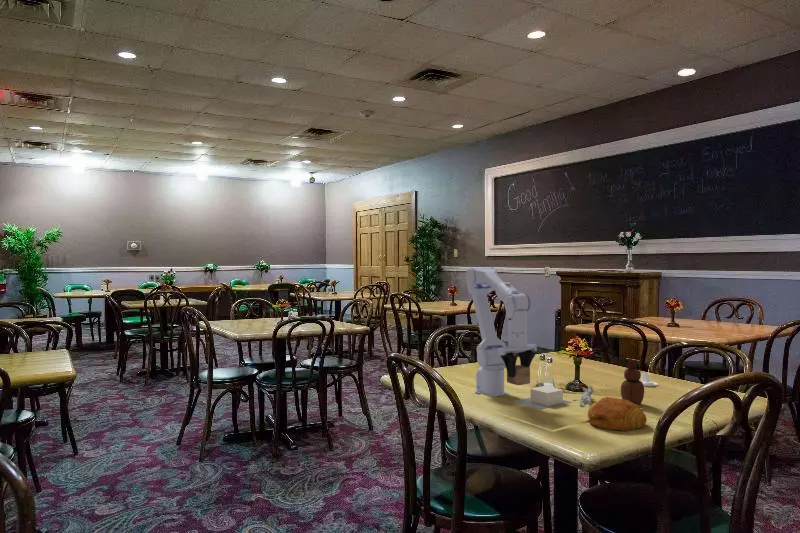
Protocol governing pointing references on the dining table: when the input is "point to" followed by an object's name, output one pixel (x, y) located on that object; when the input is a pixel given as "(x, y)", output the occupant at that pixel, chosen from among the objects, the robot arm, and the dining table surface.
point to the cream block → (546, 395)
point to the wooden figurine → (632, 384)
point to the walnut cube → (520, 375)
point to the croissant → (616, 414)
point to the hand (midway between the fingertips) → (518, 375)
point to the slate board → (539, 406)
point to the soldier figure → (586, 397)
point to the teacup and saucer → (647, 380)
